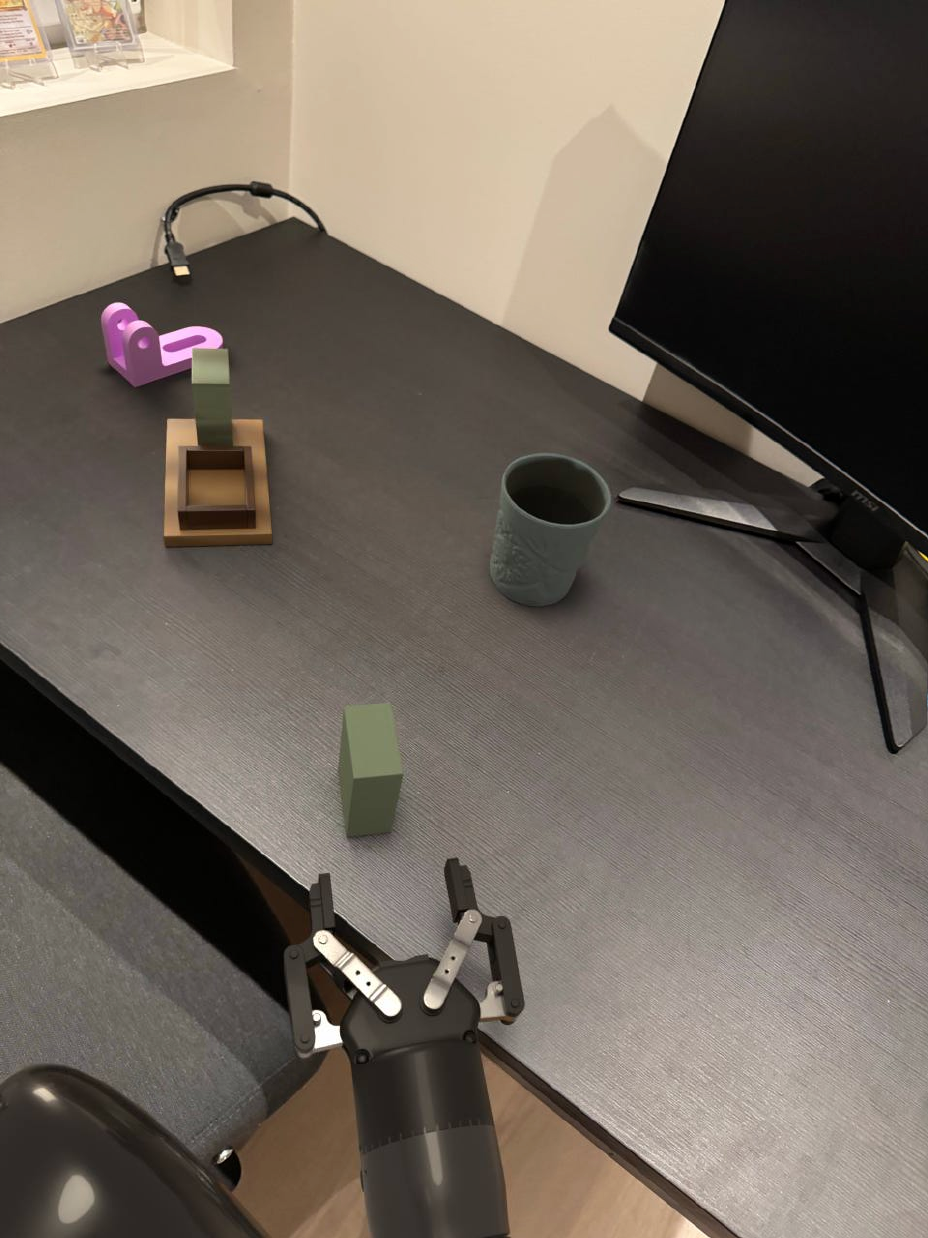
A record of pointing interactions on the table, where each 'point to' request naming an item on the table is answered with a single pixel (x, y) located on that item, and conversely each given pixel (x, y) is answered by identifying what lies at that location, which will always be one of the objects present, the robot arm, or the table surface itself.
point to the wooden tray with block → (215, 466)
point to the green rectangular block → (369, 769)
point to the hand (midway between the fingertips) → (387, 870)
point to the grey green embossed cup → (545, 526)
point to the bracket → (150, 346)
